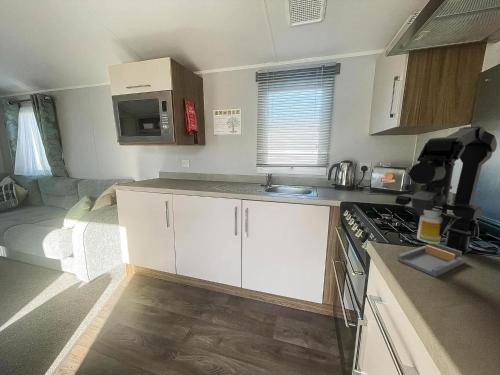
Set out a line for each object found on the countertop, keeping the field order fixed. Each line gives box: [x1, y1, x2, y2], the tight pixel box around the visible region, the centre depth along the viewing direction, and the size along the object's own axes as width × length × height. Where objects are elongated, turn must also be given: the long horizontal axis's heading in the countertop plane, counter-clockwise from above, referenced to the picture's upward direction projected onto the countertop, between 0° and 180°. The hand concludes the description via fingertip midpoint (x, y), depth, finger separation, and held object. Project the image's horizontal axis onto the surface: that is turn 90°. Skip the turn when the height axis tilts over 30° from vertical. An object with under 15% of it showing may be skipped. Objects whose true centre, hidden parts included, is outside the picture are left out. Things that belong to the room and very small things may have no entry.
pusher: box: [424, 244, 455, 261], centre depth 68 cm, size 1×7×3 cm, turn 26°
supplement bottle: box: [416, 208, 443, 244], centre depth 62 cm, size 5×5×10 cm
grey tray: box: [396, 243, 466, 278], centre depth 65 cm, size 18×10×3 cm, turn 116°
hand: (429, 232), depth 62 cm, fingers closed on supplement bottle, 5 cm apart
